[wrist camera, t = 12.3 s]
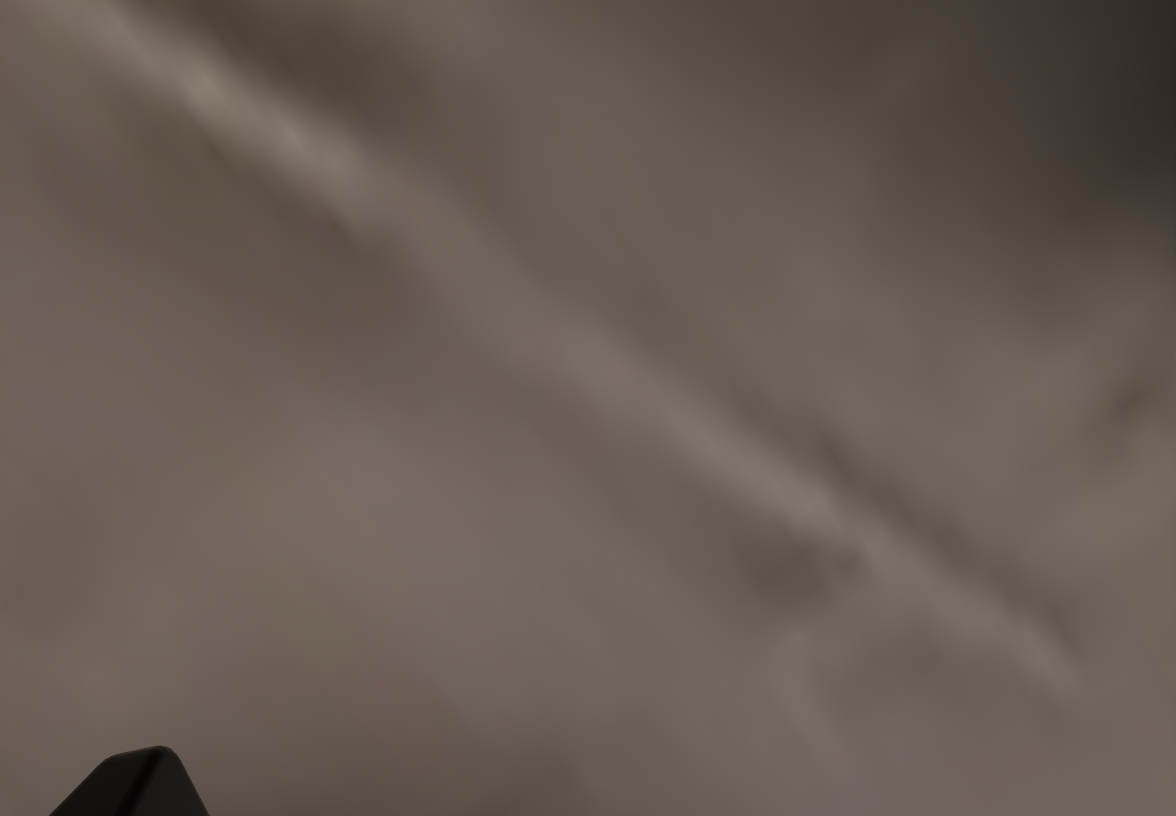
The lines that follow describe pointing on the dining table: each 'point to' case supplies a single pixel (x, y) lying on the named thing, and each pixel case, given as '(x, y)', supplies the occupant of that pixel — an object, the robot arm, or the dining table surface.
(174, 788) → the robot arm
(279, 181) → the dining table surface
